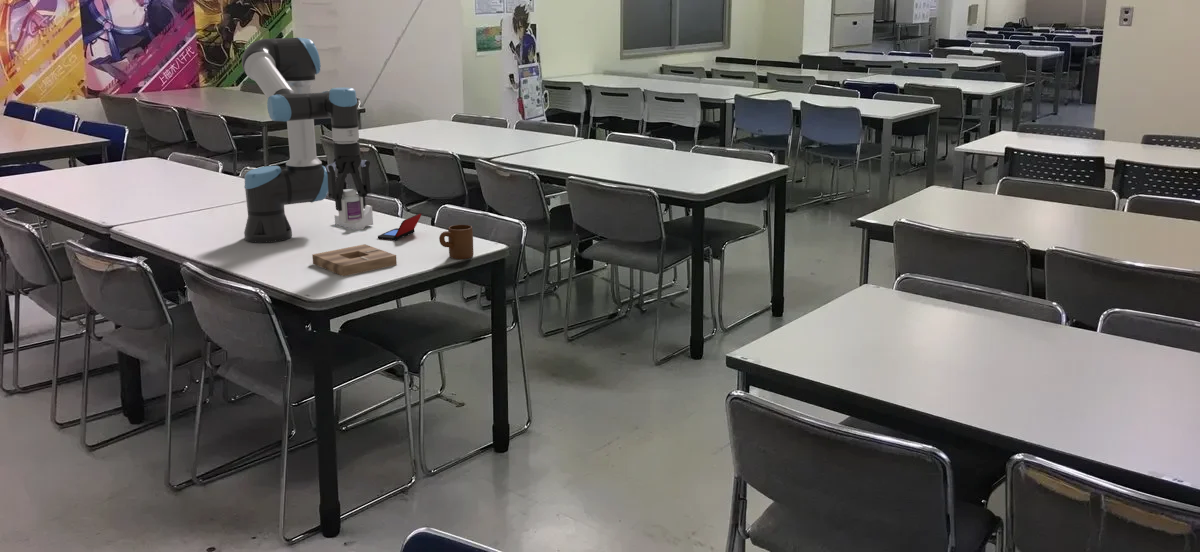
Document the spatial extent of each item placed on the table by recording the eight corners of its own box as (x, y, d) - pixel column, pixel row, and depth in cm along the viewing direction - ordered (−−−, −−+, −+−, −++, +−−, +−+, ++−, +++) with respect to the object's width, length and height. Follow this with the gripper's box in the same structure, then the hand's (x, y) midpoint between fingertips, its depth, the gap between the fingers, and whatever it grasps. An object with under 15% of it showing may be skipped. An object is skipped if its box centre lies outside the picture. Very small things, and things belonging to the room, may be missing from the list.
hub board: (313, 264, 293) (312, 253, 292) (365, 253, 305) (364, 243, 304) (343, 276, 280) (342, 265, 279) (396, 264, 292) (396, 254, 291)
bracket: (373, 227, 340) (372, 206, 337) (356, 230, 335) (354, 209, 332) (352, 221, 348) (350, 200, 346) (335, 224, 343) (333, 203, 341)
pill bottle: (364, 220, 291) (362, 188, 288) (356, 224, 286) (354, 192, 283) (347, 219, 292) (345, 188, 289) (339, 223, 287) (337, 191, 284)
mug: (448, 264, 293) (447, 233, 291) (432, 259, 298) (431, 229, 295) (478, 256, 302) (477, 227, 299) (462, 252, 307) (461, 223, 304)
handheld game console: (396, 231, 334) (394, 210, 332) (423, 233, 330) (422, 212, 328) (376, 239, 323) (374, 217, 321) (404, 242, 319) (403, 220, 317)
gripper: (323, 146, 273) (330, 226, 280) (380, 140, 285) (385, 216, 292) (310, 143, 278) (317, 222, 285) (367, 137, 291) (372, 212, 297)
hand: (351, 219), depth 288 cm, fingers closed on pill bottle, 5 cm apart
